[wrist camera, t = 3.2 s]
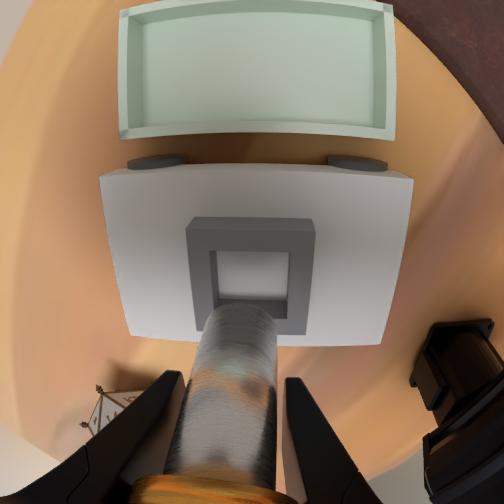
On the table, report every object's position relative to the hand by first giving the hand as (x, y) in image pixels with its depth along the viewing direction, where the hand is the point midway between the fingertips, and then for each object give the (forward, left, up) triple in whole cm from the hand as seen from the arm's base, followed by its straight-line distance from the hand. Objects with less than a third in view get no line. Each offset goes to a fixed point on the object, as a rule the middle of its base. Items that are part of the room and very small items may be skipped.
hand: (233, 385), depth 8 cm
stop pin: (0, 0, -2) cm, 2 cm away
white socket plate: (0, 0, -11) cm, 11 cm away
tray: (0, -9, -11) cm, 14 cm away
